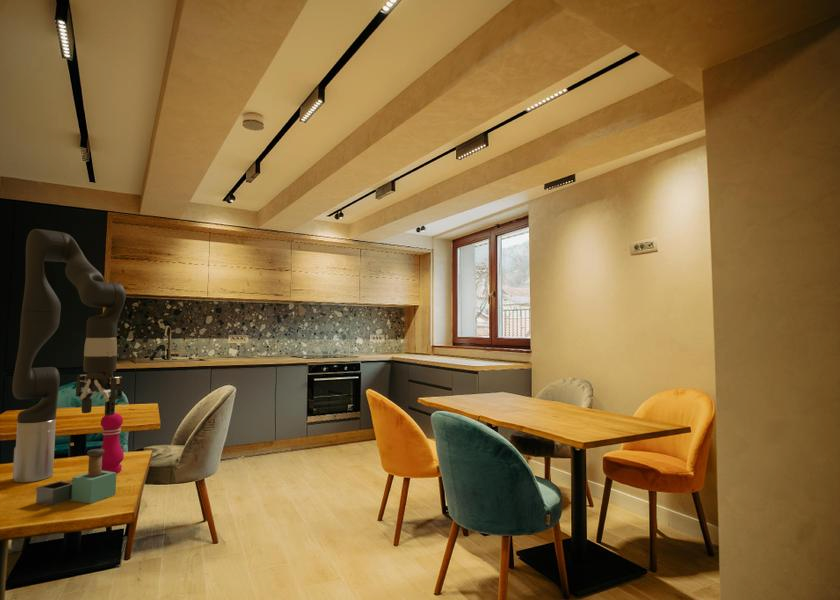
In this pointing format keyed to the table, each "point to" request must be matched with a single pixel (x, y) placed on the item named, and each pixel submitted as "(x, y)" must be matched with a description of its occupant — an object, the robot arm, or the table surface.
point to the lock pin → (95, 462)
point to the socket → (93, 487)
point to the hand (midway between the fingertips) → (97, 414)
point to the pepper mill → (112, 443)
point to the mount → (54, 493)
